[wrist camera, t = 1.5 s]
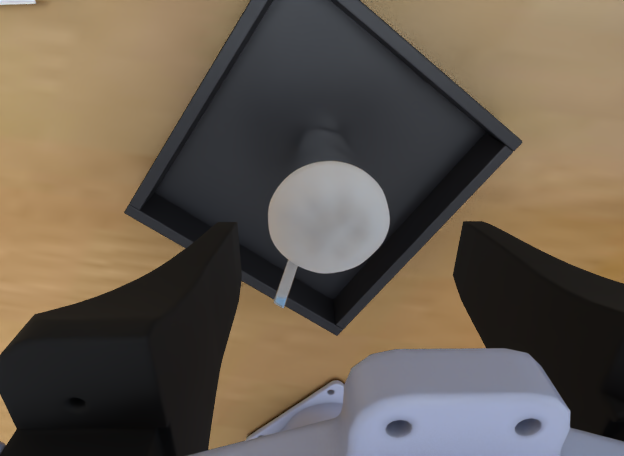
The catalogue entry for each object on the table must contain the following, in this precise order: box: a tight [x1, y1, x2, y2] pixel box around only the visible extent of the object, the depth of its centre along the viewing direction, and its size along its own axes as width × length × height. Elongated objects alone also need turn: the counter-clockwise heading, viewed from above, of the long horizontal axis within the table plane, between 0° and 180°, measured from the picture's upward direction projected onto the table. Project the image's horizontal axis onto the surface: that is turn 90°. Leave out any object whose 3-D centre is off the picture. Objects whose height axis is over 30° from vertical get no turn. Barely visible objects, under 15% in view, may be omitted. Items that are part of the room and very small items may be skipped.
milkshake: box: [268, 128, 390, 308], centre depth 19 cm, size 5×5×10 cm
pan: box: [124, 0, 522, 336], centre depth 23 cm, size 15×14×3 cm
